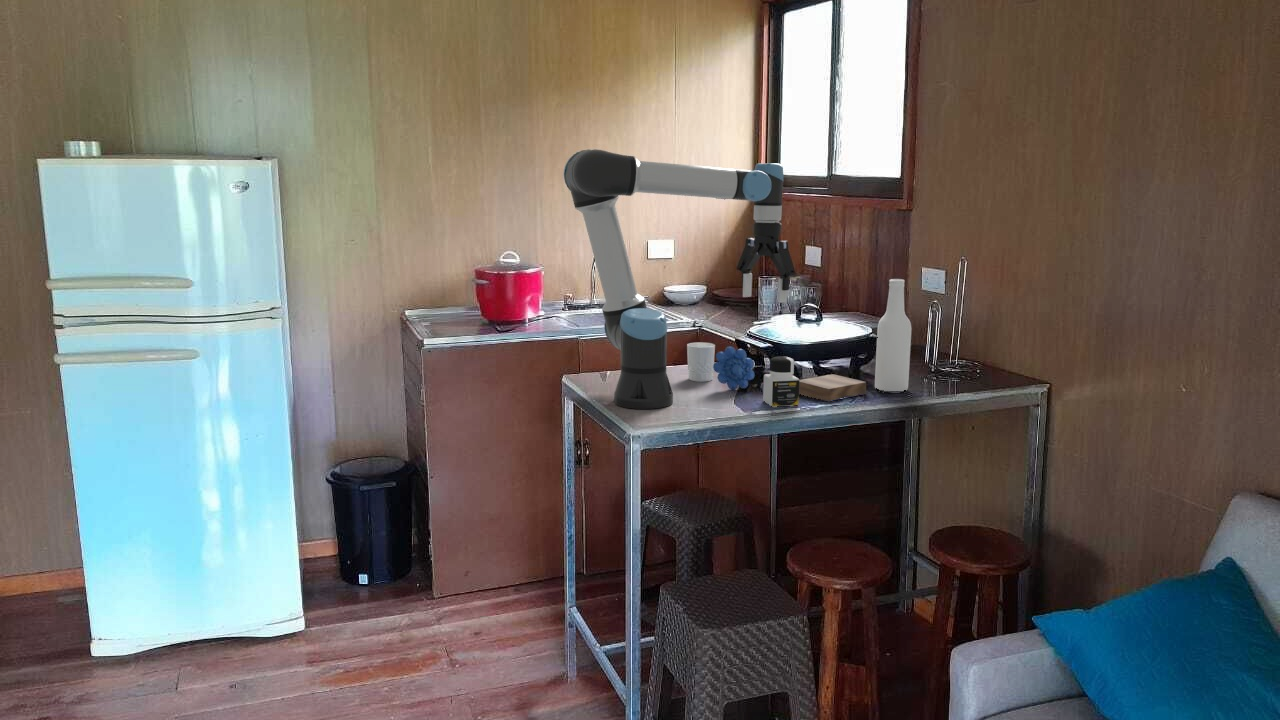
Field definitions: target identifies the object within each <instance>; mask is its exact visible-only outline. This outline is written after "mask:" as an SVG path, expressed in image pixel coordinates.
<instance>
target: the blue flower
mask: <svg viewBox="0 0 1280 720" xmlns="http://www.w3.org/2000/svg"><path fill="white" fill-rule="evenodd" d="M715 357H716V362H714V365H713V372H715V373H718V374H717V380H718V382H719V383H720V384H724V385H725V384H726V386H727V387H728V388H729V390H730V389H731V390H736V389H737V388H738V387H739V388H741V389H746V388H747V387H748V386H749V381H752V380H753V379H754V378H755V374H756V373H755V372H754V370H753V369H752V368H754V366H755V362H754V360H753V359H752V358H751V357H747V353H746V351H745V349H742V348H739V349H737V350H736V348H734V346H730V345H729V346H727V347H725V350H724V351H718V352H717V353H716V356H715Z"/></svg>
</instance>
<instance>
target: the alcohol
mask: <svg viewBox="0 0 1280 720" xmlns="http://www.w3.org/2000/svg"><path fill="white" fill-rule="evenodd" d="M888 282H889V284H888V286H889V287H888V288H889V289H888V297H887V303H886V311H885V313H884V315H883V316H881V318H880V319H879V320H878V324H877V331H876V334H877V336H876V351H875V369H874V370H875V371H874V374H875V375H874V388H875V389H876V388H877V389H879V390H884V391H904V390H906V391H907V390H908V389H909V380H910V379H909V378H910V377H909V376H910V360H911V347H912V346H911V345H912V343H911V342H912V341H911V340H912V330H913V329H912V323H911V321H910V319H909V318H908V316H907V315H906V312H905V283H906V282H905V279H902V278H891V279H889V280H888ZM877 337H878V338H877Z"/></svg>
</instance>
